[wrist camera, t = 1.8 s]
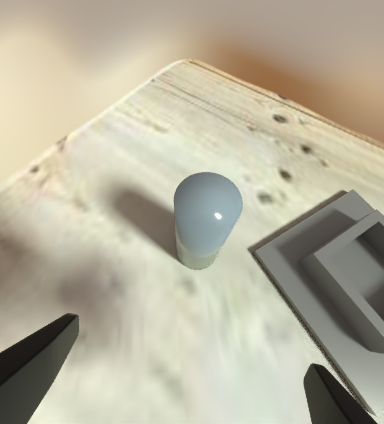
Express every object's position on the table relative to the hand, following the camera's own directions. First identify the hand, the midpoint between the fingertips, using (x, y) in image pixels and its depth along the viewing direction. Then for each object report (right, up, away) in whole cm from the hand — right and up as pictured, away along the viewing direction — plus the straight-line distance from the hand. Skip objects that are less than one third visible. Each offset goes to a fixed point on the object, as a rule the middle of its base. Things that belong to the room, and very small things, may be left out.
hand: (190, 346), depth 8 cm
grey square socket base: (+18, -2, +15) cm, 23 cm away
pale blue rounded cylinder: (+1, +1, +16) cm, 16 cm away
